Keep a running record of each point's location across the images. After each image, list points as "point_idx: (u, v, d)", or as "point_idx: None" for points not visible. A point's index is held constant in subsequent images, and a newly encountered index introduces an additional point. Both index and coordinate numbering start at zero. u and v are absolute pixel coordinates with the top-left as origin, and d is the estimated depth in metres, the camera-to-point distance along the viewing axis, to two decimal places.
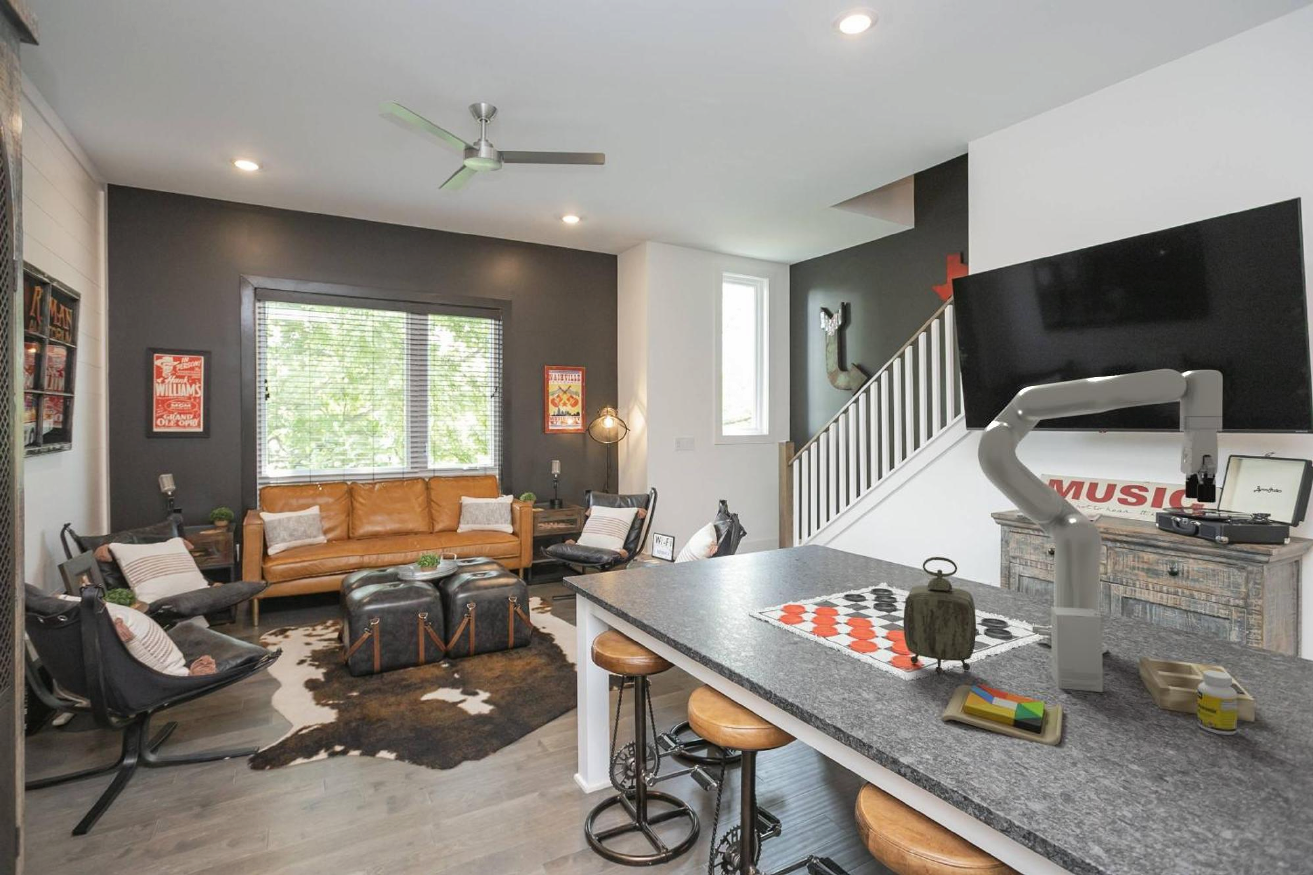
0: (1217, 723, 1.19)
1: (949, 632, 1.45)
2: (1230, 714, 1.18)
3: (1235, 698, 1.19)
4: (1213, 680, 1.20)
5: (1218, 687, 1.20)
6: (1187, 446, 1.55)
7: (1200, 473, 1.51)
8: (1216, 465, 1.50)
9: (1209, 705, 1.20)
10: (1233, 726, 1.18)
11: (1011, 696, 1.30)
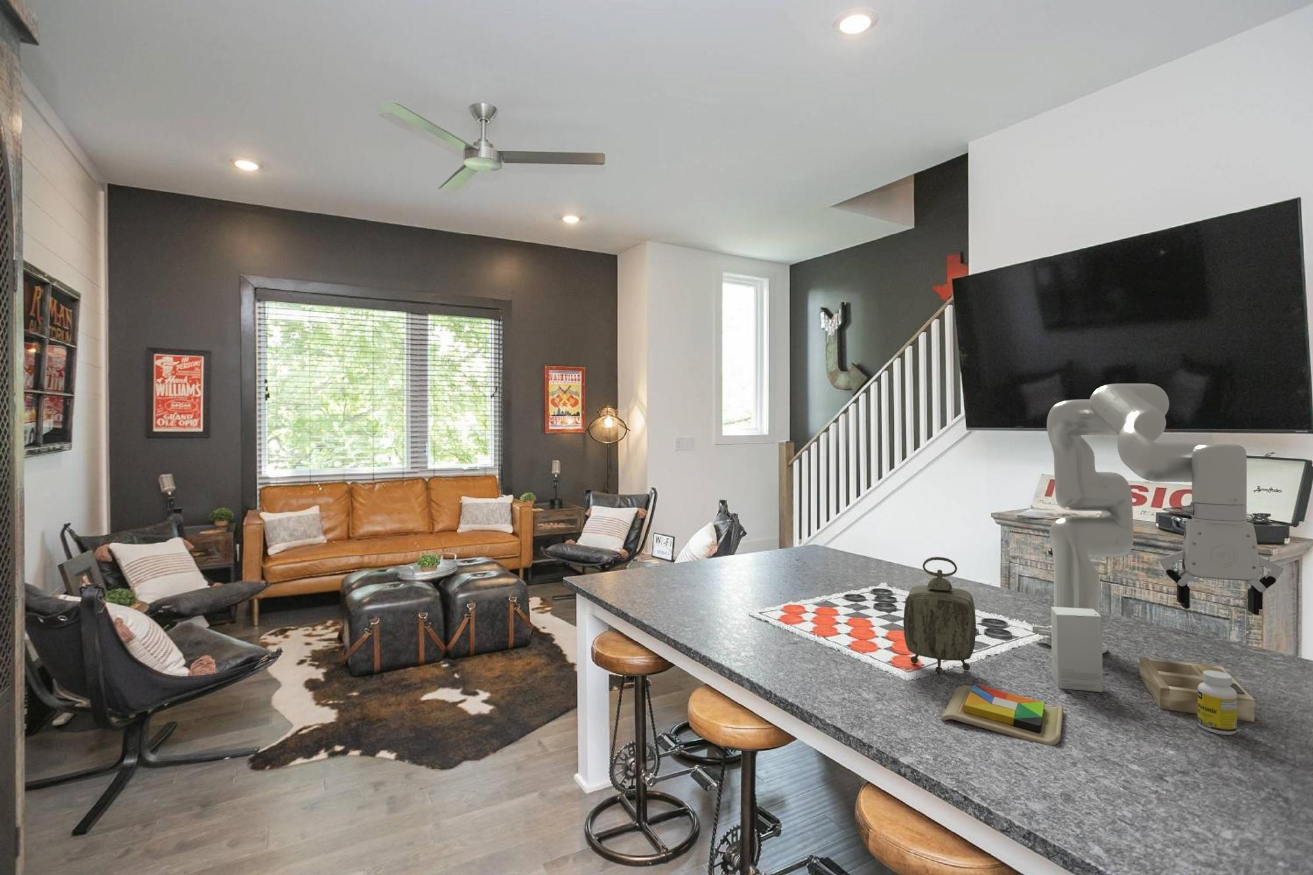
0: (1217, 723, 1.19)
1: (949, 631, 1.45)
2: (1230, 714, 1.18)
3: (1235, 698, 1.19)
4: (1213, 680, 1.20)
5: (1217, 687, 1.20)
6: (1237, 543, 1.18)
7: None
8: None
9: (1209, 705, 1.20)
10: (1233, 726, 1.18)
11: (1011, 696, 1.30)
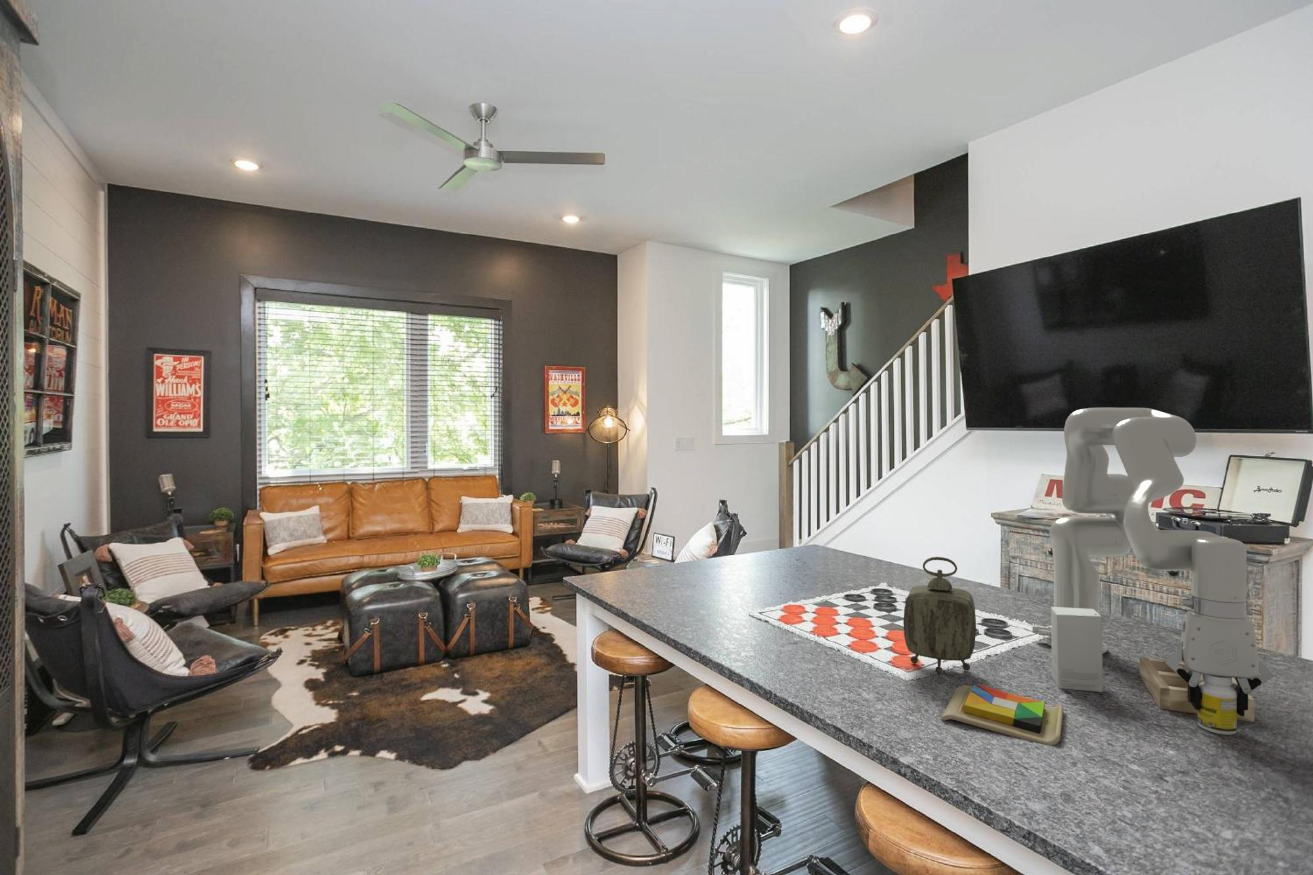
0: (1218, 723, 1.19)
1: (949, 631, 1.45)
2: (1231, 714, 1.18)
3: (1235, 698, 1.19)
4: (1213, 680, 1.20)
5: (1218, 687, 1.20)
6: (1236, 641, 1.18)
7: (1246, 678, 1.18)
8: None
9: (1209, 704, 1.20)
10: (1233, 726, 1.18)
11: (1011, 696, 1.30)
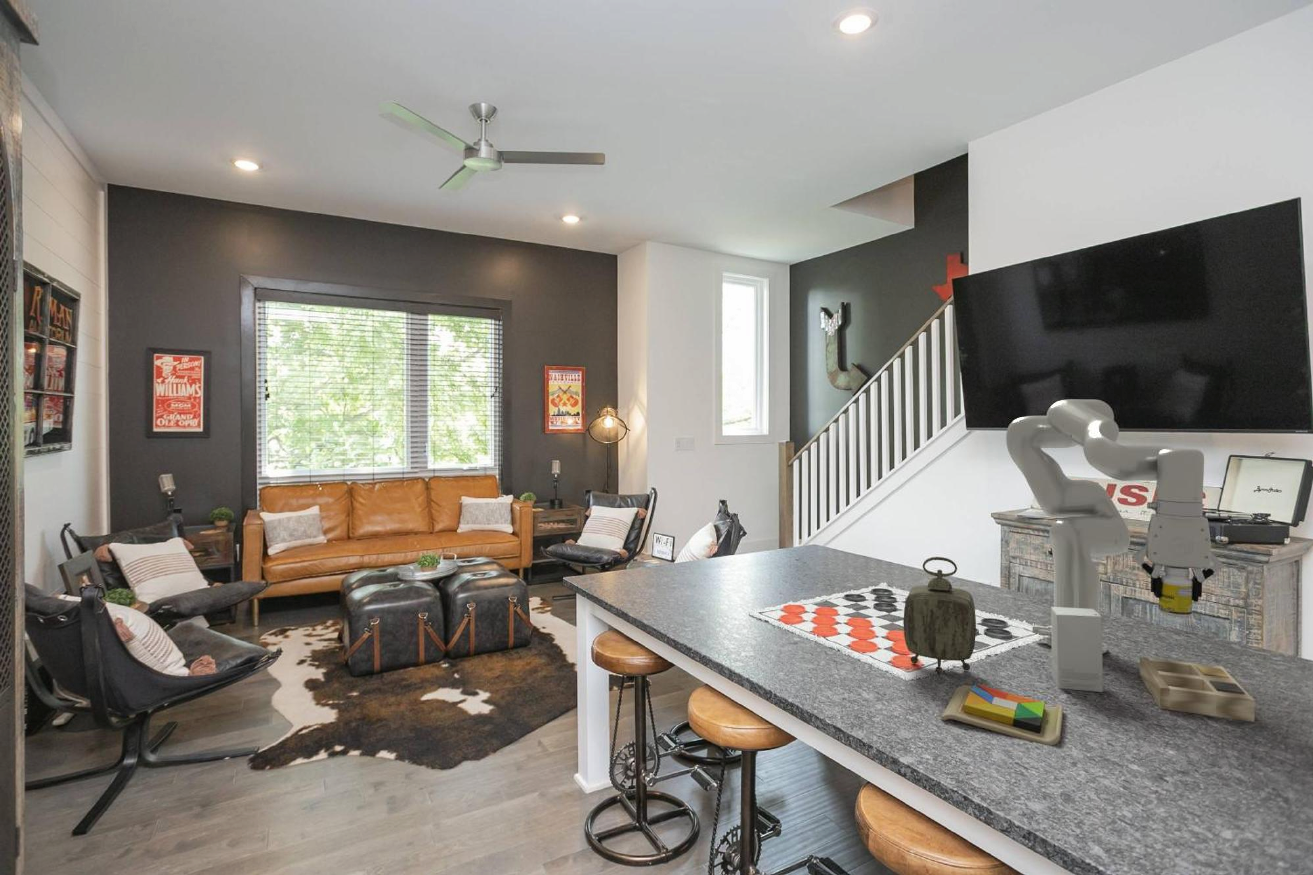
0: (1175, 608, 1.37)
1: (949, 631, 1.45)
2: (1186, 599, 1.36)
3: (1191, 586, 1.37)
4: (1172, 571, 1.38)
5: (1176, 577, 1.37)
6: (1192, 536, 1.35)
7: None
8: None
9: (1168, 592, 1.38)
10: (1188, 610, 1.37)
11: (1011, 696, 1.30)
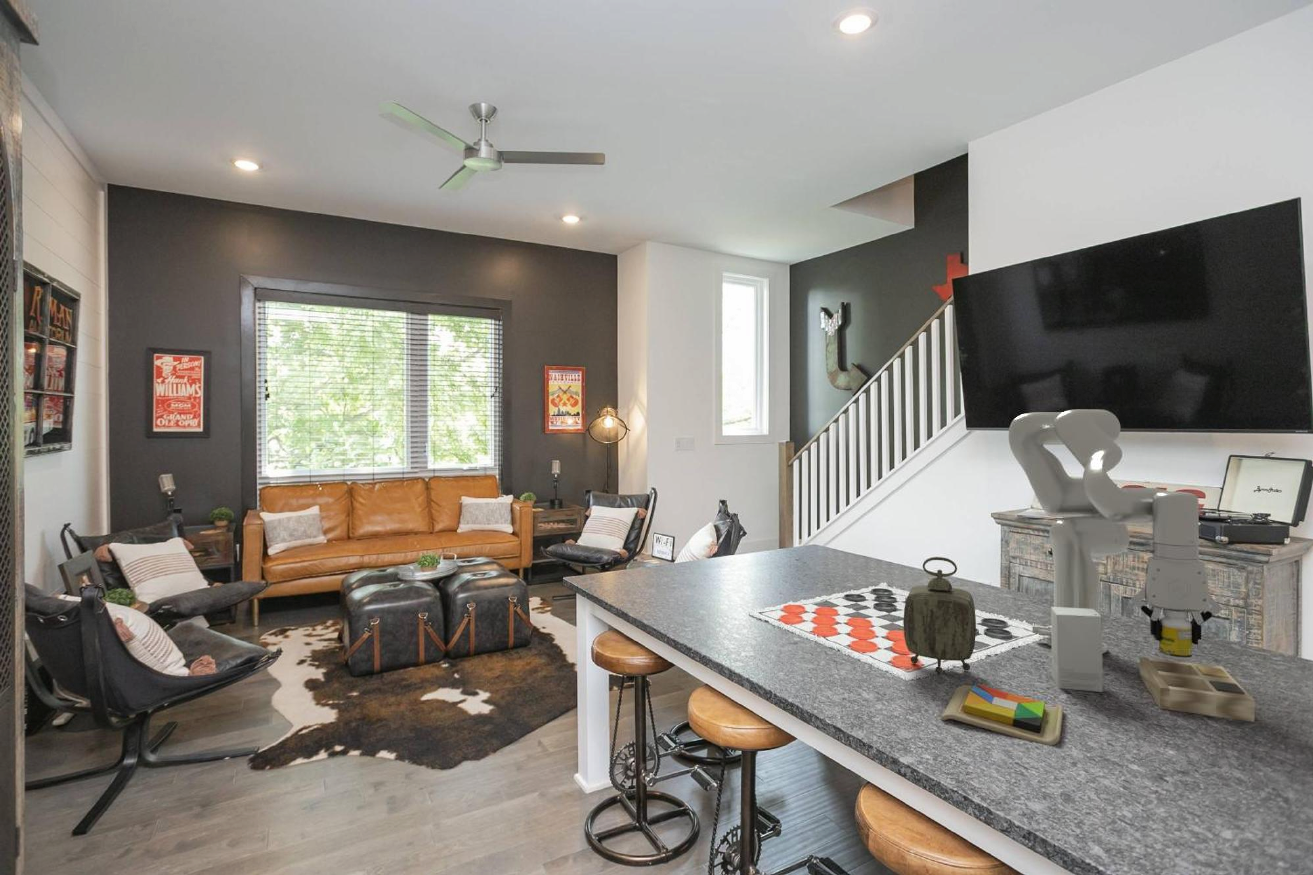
0: (1175, 650, 1.38)
1: (949, 632, 1.45)
2: (1186, 642, 1.37)
3: (1190, 628, 1.38)
4: (1171, 614, 1.39)
5: (1175, 619, 1.39)
6: (1190, 579, 1.37)
7: (1199, 612, 1.37)
8: None
9: (1168, 635, 1.39)
10: (1188, 652, 1.38)
11: (1011, 696, 1.30)
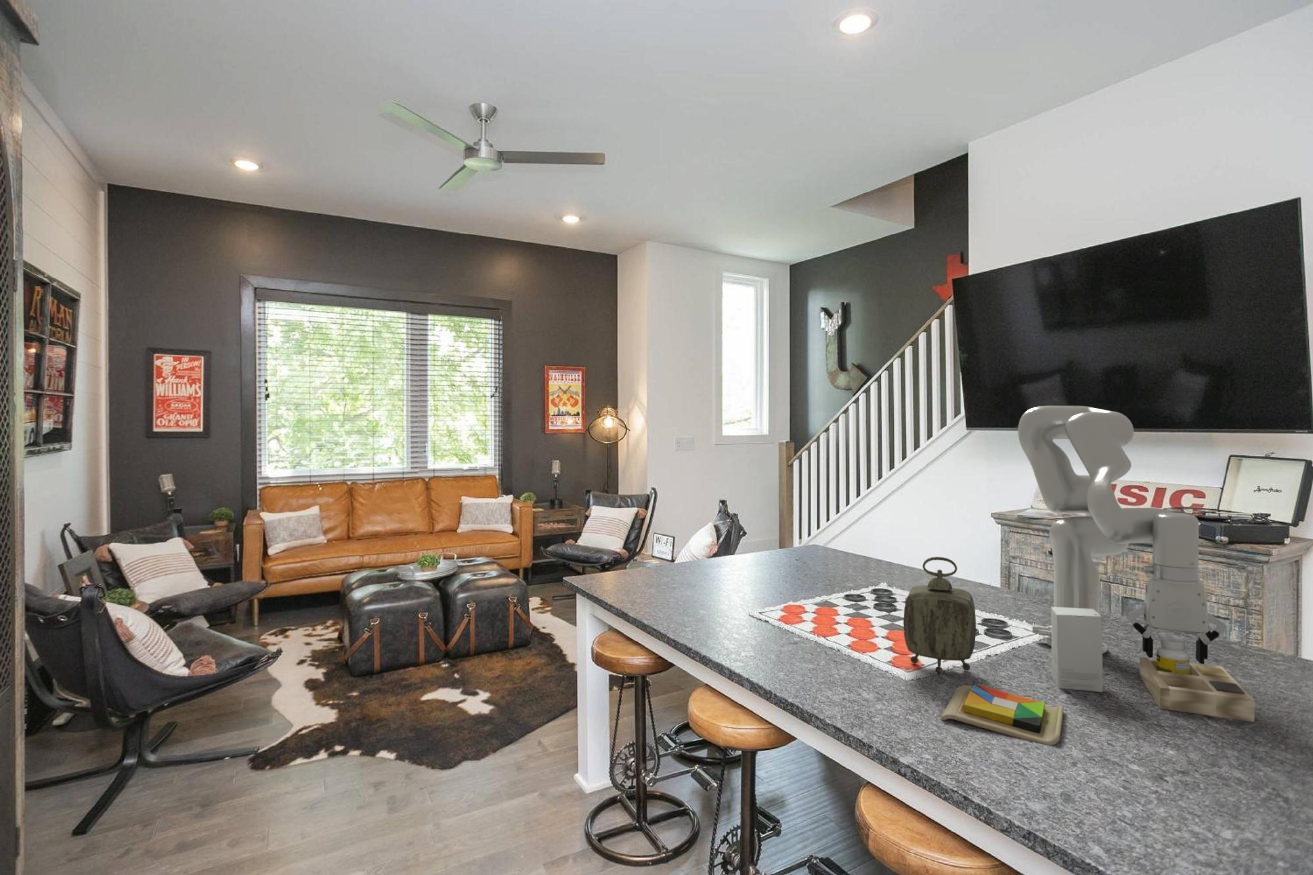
0: None
1: (949, 631, 1.45)
2: (1184, 673, 1.38)
3: (1187, 660, 1.38)
4: (1169, 645, 1.39)
5: (1173, 650, 1.39)
6: (1189, 601, 1.37)
7: None
8: None
9: (1165, 666, 1.39)
10: None
11: (1011, 696, 1.30)
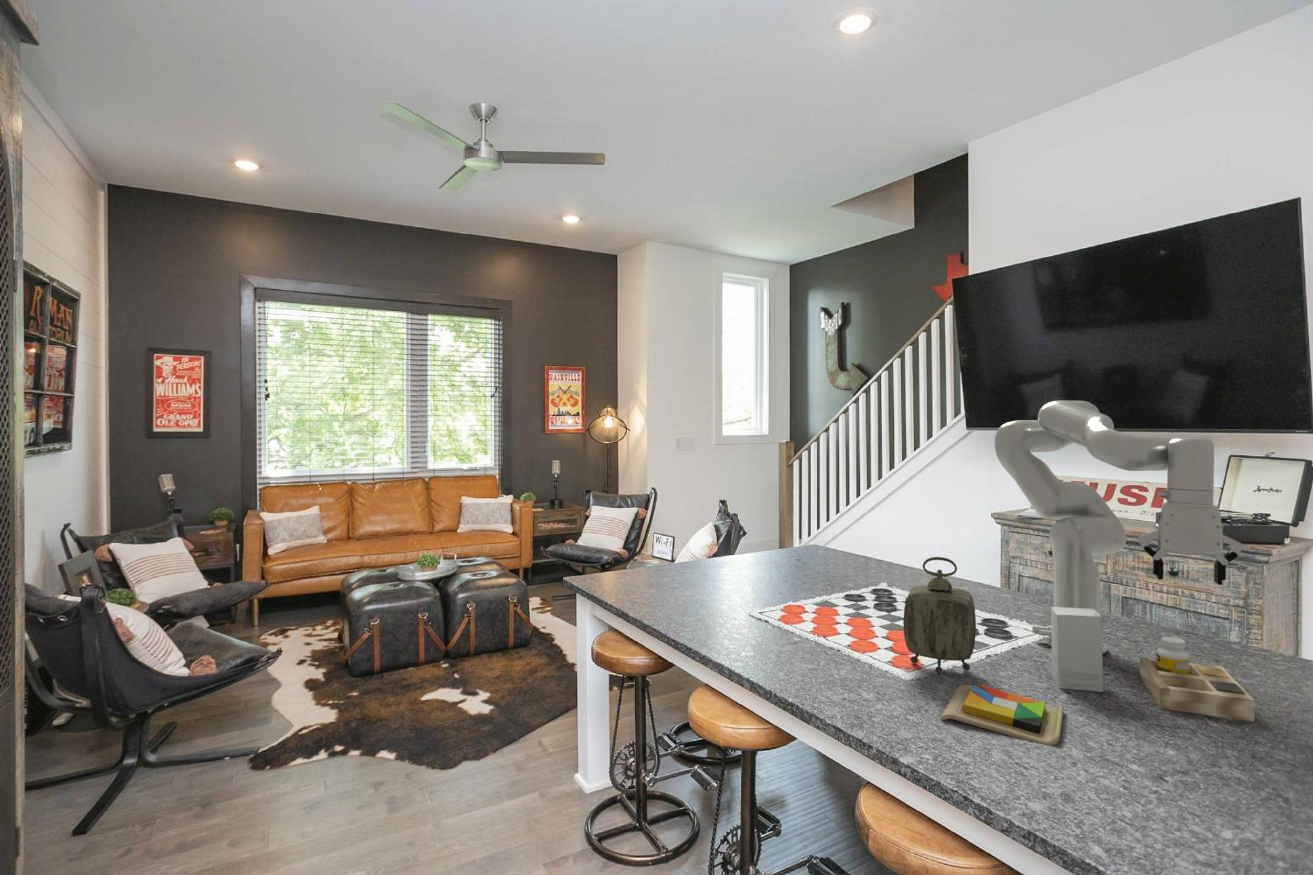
0: None
1: (949, 631, 1.45)
2: (1184, 673, 1.38)
3: (1187, 660, 1.38)
4: (1169, 645, 1.39)
5: (1173, 650, 1.39)
6: (1203, 523, 1.37)
7: None
8: None
9: (1165, 666, 1.39)
10: None
11: (1011, 696, 1.30)
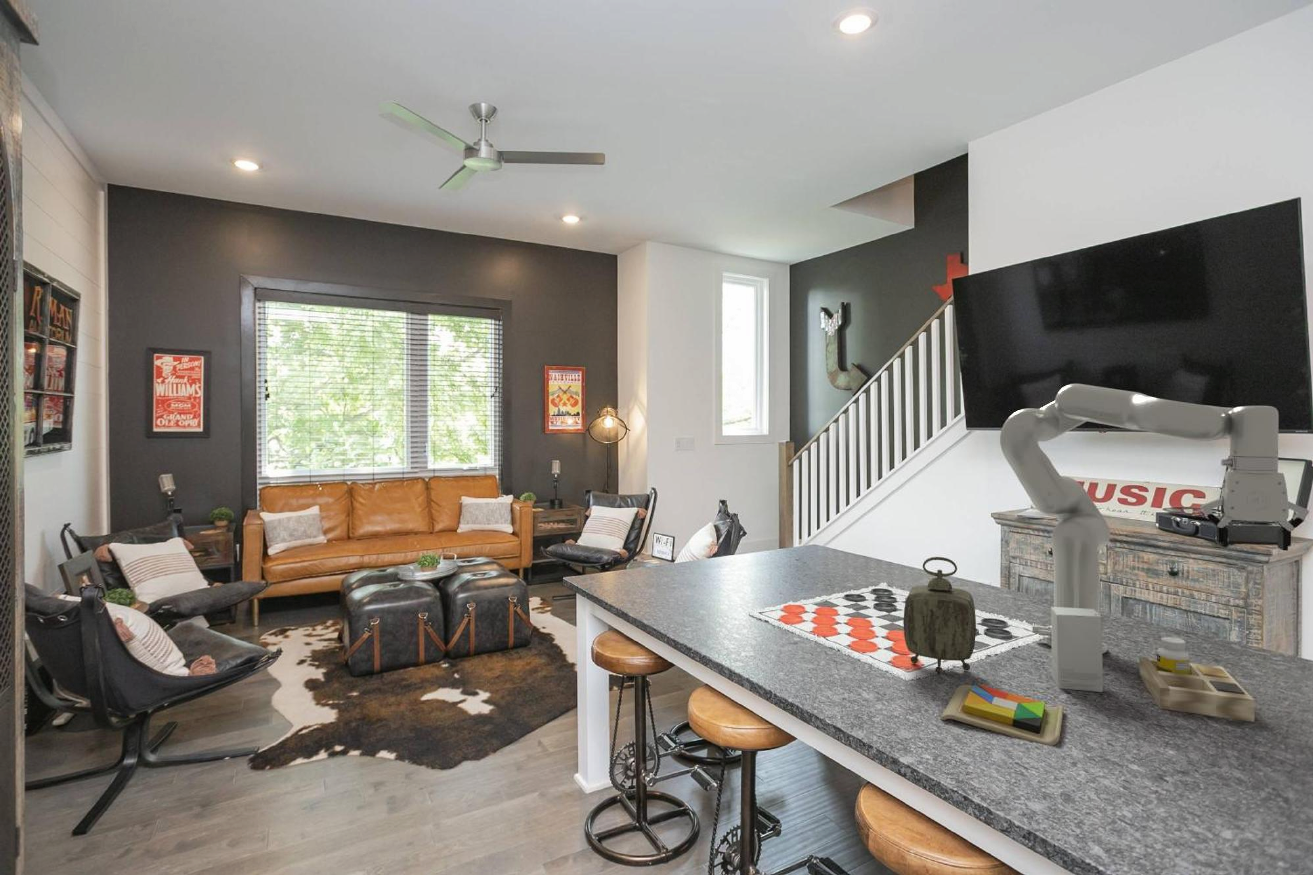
0: None
1: (949, 631, 1.45)
2: (1184, 673, 1.38)
3: (1188, 660, 1.38)
4: (1169, 645, 1.39)
5: (1173, 650, 1.39)
6: (1269, 490, 1.39)
7: None
8: None
9: (1166, 666, 1.39)
10: None
11: (1011, 696, 1.30)
